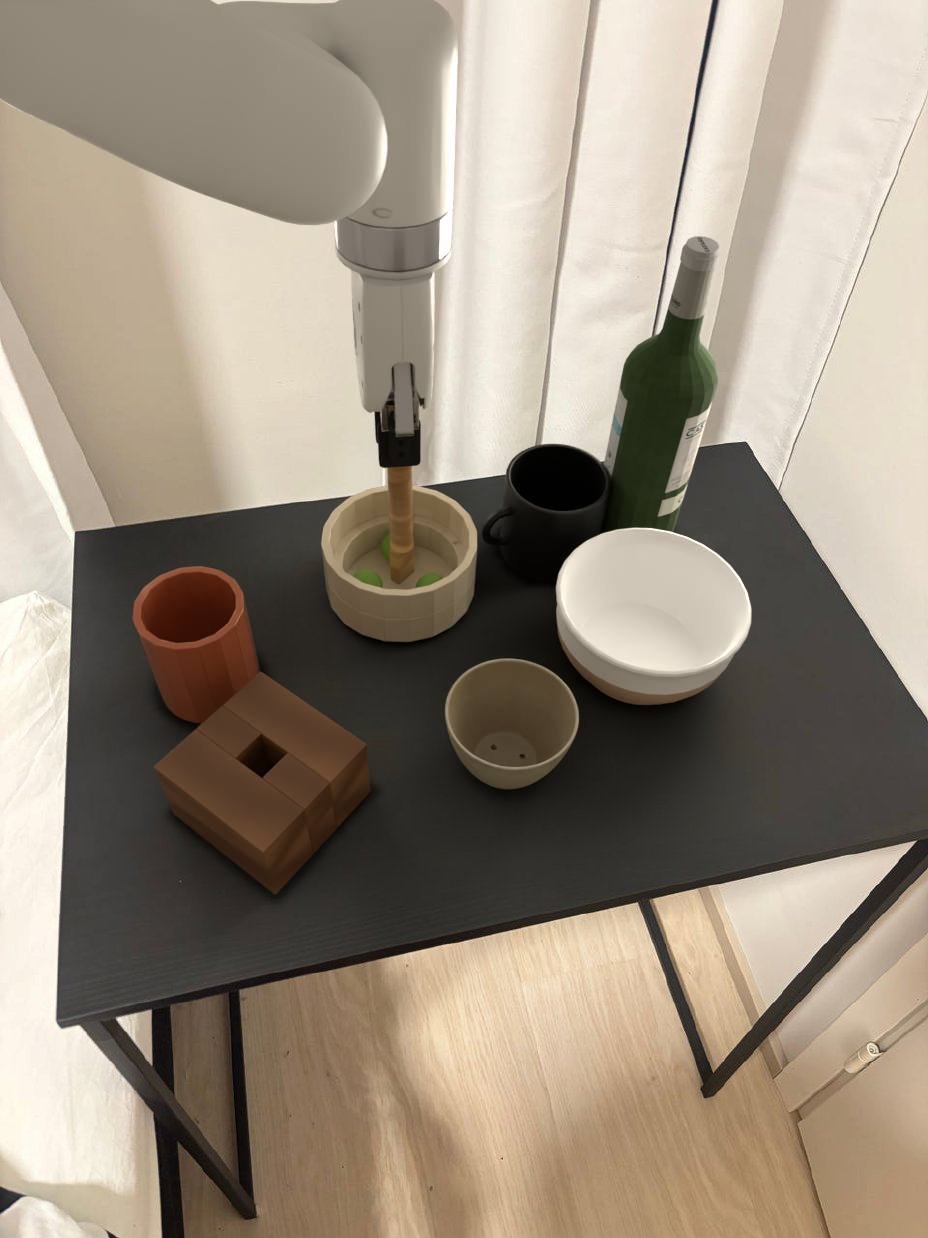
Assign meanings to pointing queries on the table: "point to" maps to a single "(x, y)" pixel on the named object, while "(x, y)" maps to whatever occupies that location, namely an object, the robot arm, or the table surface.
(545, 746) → the flower pot
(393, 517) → the wooden dowel peg
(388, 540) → the pea
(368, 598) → the mixing bowl
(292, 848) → the holder
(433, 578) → the pea
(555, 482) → the mug
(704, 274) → the wine bottle
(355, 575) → the pea
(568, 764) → the table surface
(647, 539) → the bowl
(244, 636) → the crock
